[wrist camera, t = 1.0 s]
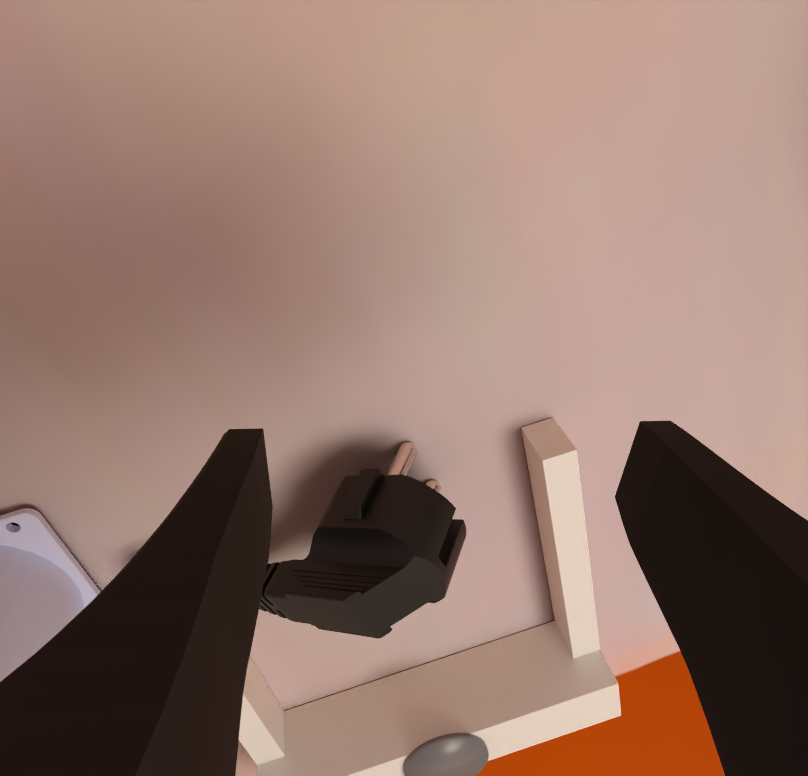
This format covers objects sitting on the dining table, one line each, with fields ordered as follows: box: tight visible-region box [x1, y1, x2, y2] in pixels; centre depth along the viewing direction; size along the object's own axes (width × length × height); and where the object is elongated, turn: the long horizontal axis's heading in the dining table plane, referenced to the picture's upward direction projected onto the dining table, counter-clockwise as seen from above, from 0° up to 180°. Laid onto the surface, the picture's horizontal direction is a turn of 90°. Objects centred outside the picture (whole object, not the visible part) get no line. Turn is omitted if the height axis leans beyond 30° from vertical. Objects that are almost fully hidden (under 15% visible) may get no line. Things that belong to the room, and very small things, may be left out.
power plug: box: [259, 442, 466, 638], centre depth 27 cm, size 6×8×12 cm
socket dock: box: [239, 418, 621, 776], centre depth 30 cm, size 19×18×5 cm
